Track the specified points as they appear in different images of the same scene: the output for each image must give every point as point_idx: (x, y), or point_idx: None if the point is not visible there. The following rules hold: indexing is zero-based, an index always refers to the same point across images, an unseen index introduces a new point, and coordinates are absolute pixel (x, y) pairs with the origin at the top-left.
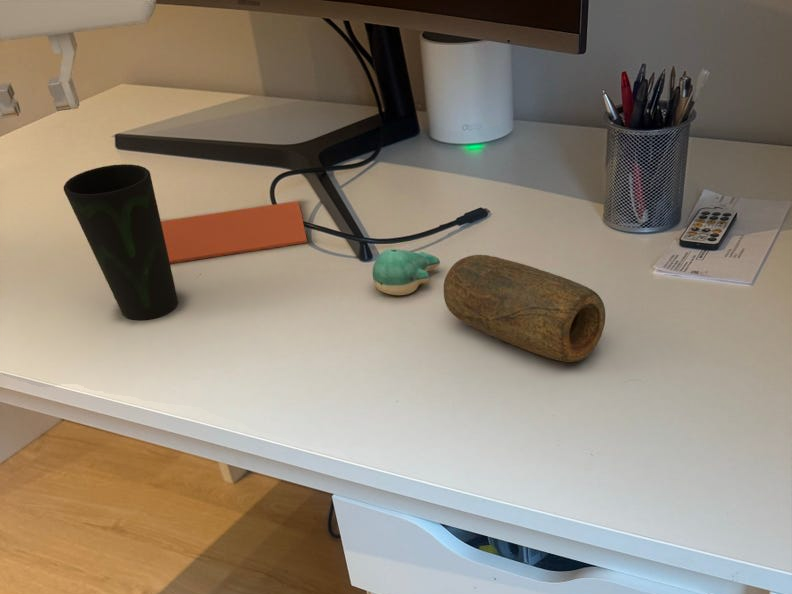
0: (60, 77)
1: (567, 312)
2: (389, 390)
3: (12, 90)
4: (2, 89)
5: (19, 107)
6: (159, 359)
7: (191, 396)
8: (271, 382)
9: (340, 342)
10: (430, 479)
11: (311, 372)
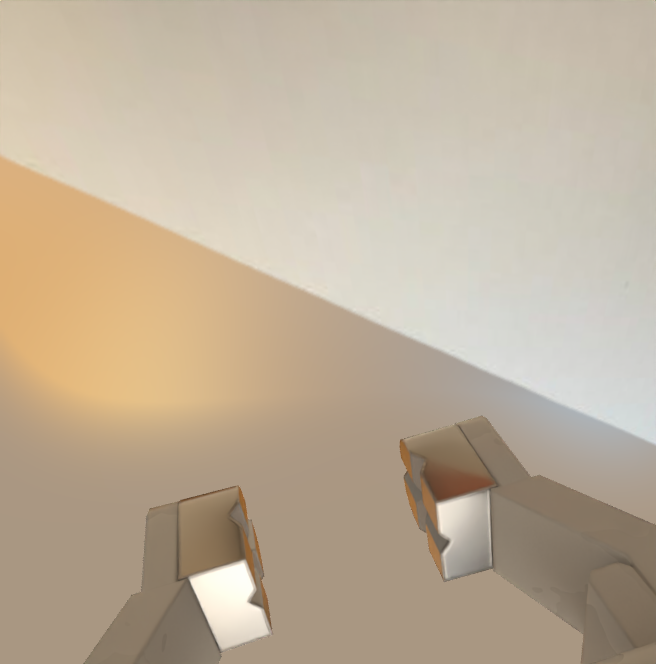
0: (516, 584)
1: None
2: (623, 256)
3: (249, 552)
4: (250, 635)
5: (239, 491)
6: (257, 114)
7: (344, 252)
8: (467, 220)
9: (584, 95)
10: (621, 426)
11: (528, 195)
